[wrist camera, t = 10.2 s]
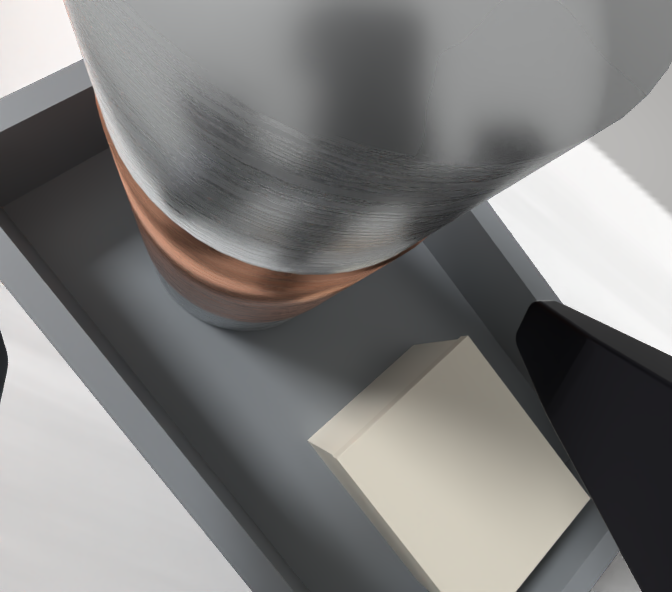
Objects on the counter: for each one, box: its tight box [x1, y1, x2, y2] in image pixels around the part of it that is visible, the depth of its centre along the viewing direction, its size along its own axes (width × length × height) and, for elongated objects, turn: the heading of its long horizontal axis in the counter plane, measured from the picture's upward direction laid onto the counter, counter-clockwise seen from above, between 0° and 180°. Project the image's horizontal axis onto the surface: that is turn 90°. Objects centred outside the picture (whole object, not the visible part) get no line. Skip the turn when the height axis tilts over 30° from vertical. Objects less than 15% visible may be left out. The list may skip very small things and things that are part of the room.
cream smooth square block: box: [307, 336, 590, 592], centre depth 15 cm, size 6×5×4 cm
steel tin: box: [63, 0, 672, 331], centre depth 10 cm, size 6×6×13 cm
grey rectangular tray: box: [0, 59, 620, 592], centre depth 15 cm, size 20×12×4 cm, turn 39°
